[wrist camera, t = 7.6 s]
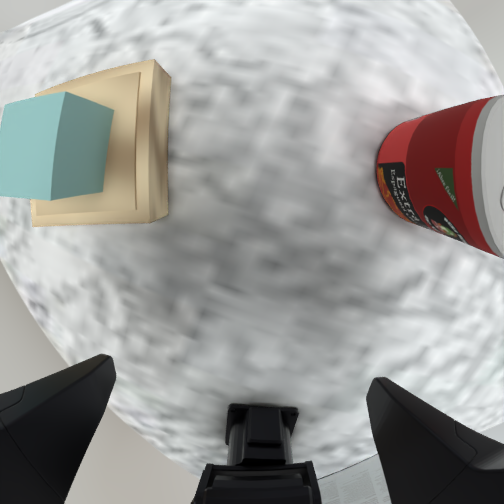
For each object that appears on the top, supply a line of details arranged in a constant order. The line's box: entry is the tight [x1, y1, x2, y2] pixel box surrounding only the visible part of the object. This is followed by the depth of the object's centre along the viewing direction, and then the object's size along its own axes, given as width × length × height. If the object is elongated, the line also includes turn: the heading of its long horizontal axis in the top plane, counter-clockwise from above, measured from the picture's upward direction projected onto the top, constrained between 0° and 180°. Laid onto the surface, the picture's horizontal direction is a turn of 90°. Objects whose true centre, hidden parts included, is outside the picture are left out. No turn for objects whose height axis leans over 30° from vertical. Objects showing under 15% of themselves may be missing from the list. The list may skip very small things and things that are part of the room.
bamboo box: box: [30, 59, 171, 227], centre depth 16 cm, size 10×10×4 cm
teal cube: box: [0, 91, 114, 201], centre depth 12 cm, size 5×5×5 cm
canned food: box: [376, 95, 504, 259], centre depth 12 cm, size 8×8×11 cm
